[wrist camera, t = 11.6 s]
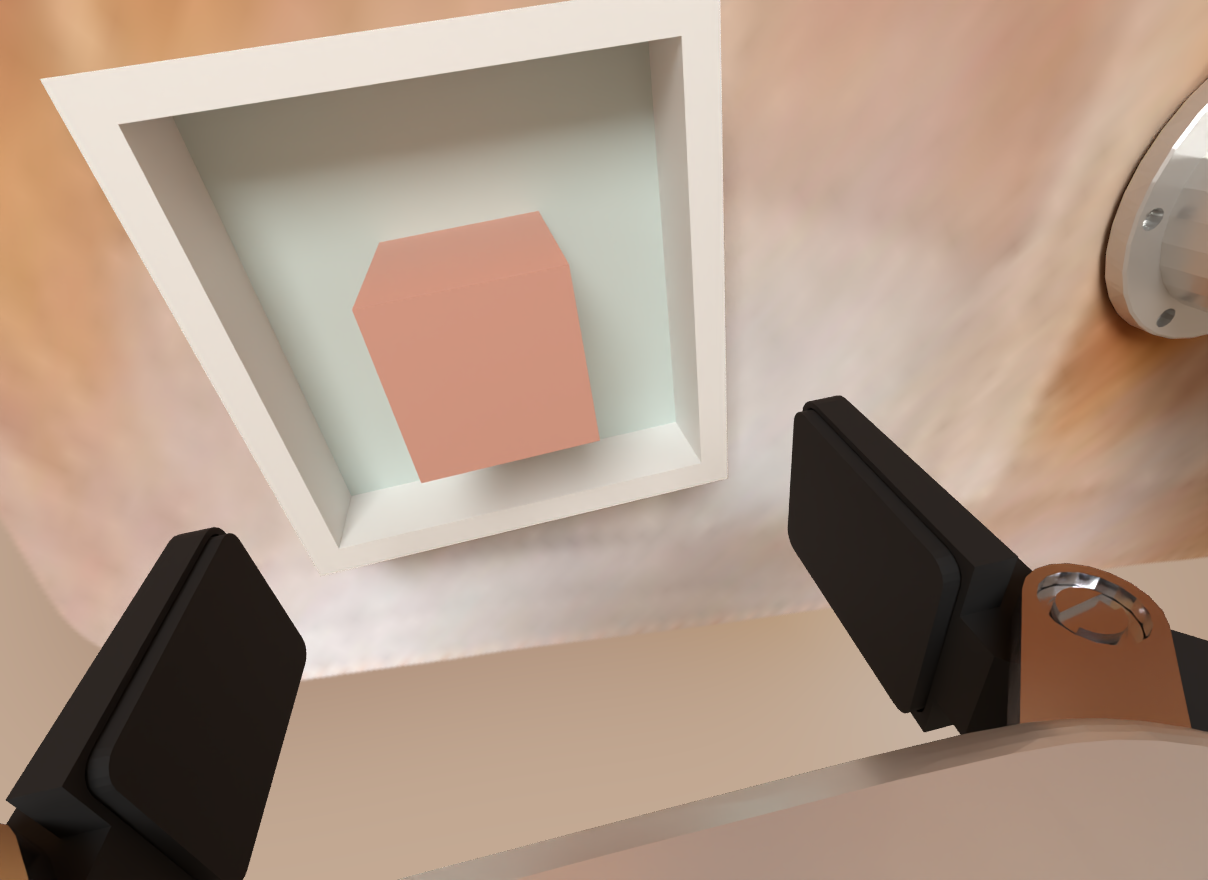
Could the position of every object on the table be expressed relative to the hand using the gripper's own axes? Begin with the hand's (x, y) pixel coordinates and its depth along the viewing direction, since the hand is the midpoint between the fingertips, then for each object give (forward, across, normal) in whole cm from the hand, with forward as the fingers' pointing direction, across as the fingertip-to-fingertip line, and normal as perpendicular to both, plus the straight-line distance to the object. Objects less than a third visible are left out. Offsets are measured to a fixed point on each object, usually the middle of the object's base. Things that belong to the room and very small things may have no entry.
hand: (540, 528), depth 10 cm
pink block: (+12, +1, 0) cm, 12 cm away
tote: (+13, +1, 0) cm, 13 cm away
